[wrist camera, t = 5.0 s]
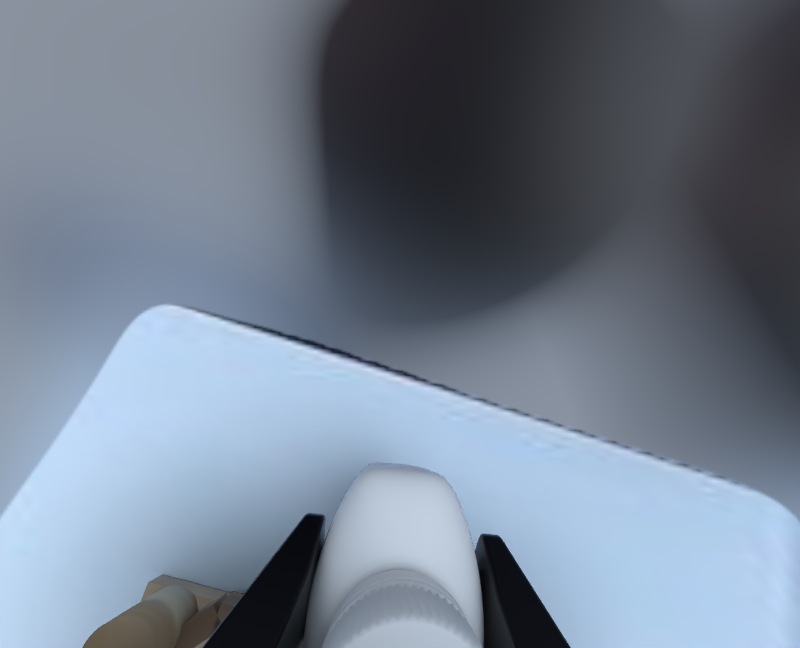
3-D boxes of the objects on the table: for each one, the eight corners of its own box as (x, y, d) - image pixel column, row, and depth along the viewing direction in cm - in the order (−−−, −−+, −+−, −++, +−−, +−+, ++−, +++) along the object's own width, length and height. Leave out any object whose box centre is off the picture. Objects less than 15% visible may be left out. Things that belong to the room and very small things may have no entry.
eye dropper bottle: (291, 580, 14) (-111, 1153, 2) (381, 443, 15) (389, 402, 4) (393, 661, 13) (491, 1926, 2) (474, 509, 15) (786, 672, 4)
